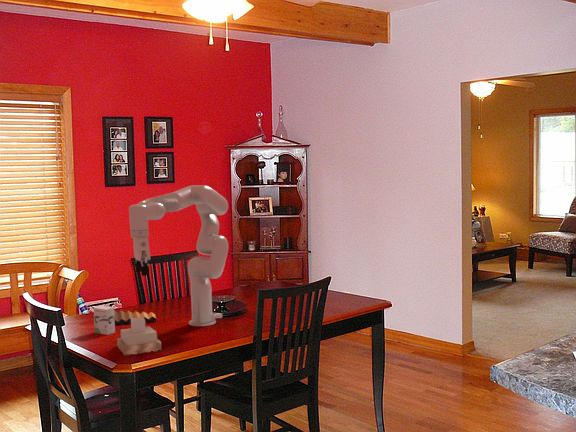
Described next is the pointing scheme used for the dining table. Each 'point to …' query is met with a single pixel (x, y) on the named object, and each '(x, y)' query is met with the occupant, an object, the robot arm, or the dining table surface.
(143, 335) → the tower top
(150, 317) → the pan flute
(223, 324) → the dining table surface
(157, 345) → the tower base
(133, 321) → the cube
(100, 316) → the ink box
